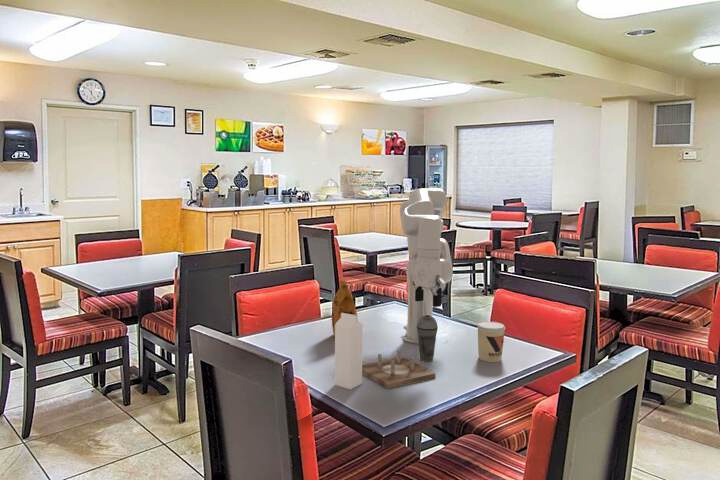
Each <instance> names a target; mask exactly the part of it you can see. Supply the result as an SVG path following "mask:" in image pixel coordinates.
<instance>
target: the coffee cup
mask: <svg viewBox="0 0 720 480" xmlns="http://www.w3.org/2000/svg"><path fill="white" fill-rule="evenodd" d="M476 328H477V345H478V346H477V347H478V349H477V350H478V359H479V360H481V361H482V362H486V363H487V362H488V363H499V362H501V361H502V357H503V348H504V339H505V330H506V327H505V325H504V324H503V323H501V322H497V321H481V322H479V323H478V324H477V326H476Z"/></svg>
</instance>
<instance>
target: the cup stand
mask: <svg viewBox="0 0 720 480" xmlns="http://www.w3.org/2000/svg"><path fill="white" fill-rule="evenodd" d="M382 358H383V357H382V353H378V354H377V361H374V362H369V363H364V364H362V375H365V376H366V377H368V378H369V379H371V380H372V381H374V382H376V383H377V382H378V383H377V384H379V385H381V386H382V385H383V387H384V388H386V389H387V390H388V388H389V389H392V387H393V388H397V387H396V386H398V387H401V386H400V385H402V386H405V384H406V385H410V384H409V383H411V384H414V382H415V383H420V382H423V380H424V381H427V380H433V379H435V378H436V375H437V374H436V372H434V371H433V370H430V369H428V368H426V367H424V366H422V365H420V364H418V363H416V362H415V357H414V356H410V359H408V358H405V357H403V356H402V355H401V349H398V350H396V357H394V358H391V359H386V360H382Z"/></svg>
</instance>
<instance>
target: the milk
mask: <svg viewBox="0 0 720 480" xmlns="http://www.w3.org/2000/svg"><path fill="white" fill-rule="evenodd" d="M357 320H358V315H357V316H356V315H351V314H346V313H341V318H340V319H339V320H338V322H337V323H336V324H335V336H334V385H335V386H337V387H341V388H343V389H347V390H352V389H355V388H357V387H358V386H360V385H362V384H363V373H362V365H363V323H362V322H360V321H359V320H358V321H357Z"/></svg>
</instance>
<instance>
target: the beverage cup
mask: <svg viewBox="0 0 720 480" xmlns="http://www.w3.org/2000/svg"><path fill="white" fill-rule="evenodd" d="M424 313H425V316H422V317H421V318H420V319H419V321H418V323H417V331H418V340H419V344H418V351H419V353H418V354H419V360H420V361H421V362H423V361H424V363H431V362H433V361H434V356H435V349H436V348H435V347H436V340H437V333H438V329H439V326H438V322H437V320H436V319H435V317H434V316H433V315H432V316H429V315H426V308H425V303H424Z"/></svg>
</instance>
